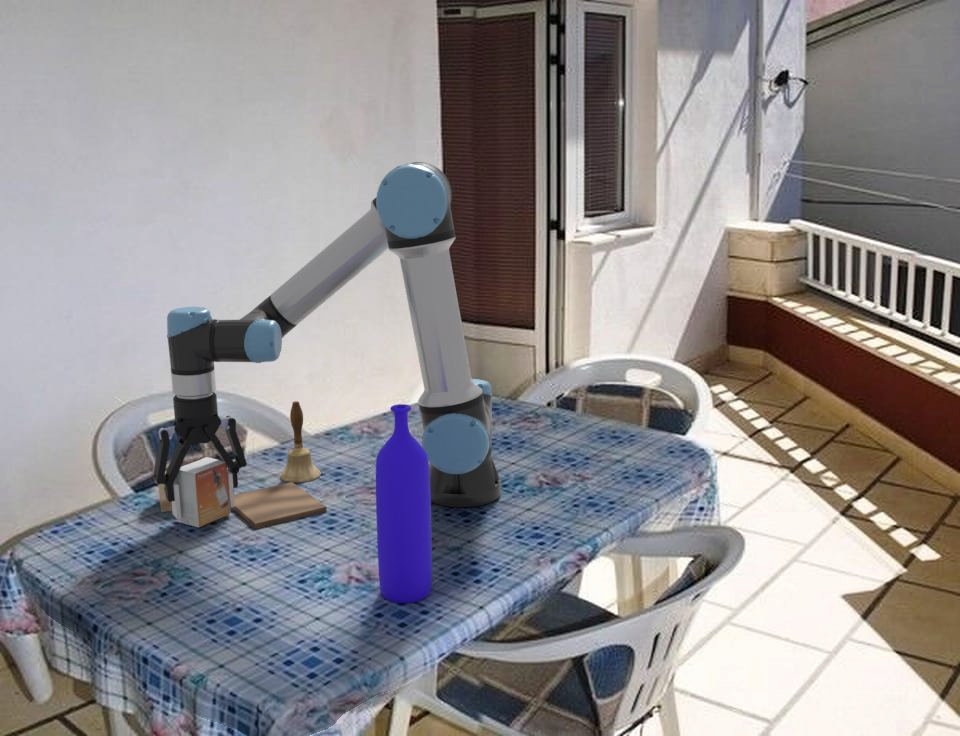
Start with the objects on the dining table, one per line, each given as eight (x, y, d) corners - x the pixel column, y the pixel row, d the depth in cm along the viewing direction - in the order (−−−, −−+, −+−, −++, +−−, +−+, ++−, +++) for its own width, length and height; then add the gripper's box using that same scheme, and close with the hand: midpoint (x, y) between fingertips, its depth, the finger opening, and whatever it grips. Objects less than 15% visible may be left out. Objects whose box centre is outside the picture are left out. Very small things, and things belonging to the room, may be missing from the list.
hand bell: (272, 480, 199) (267, 405, 195) (294, 467, 206) (290, 395, 203) (307, 485, 196) (303, 409, 192) (328, 472, 203) (324, 398, 200)
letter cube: (194, 509, 184) (191, 478, 183) (160, 512, 182) (158, 481, 181) (193, 497, 190) (190, 467, 188) (161, 501, 188) (158, 470, 187)
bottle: (425, 607, 145) (420, 415, 138) (372, 602, 147) (365, 412, 140) (438, 582, 153) (434, 400, 146) (388, 578, 155) (382, 397, 148)
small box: (198, 529, 175) (194, 474, 172) (177, 522, 177) (172, 468, 175) (231, 514, 181) (227, 461, 179) (210, 508, 184) (206, 455, 181)
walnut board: (326, 511, 182) (326, 506, 182) (255, 528, 174) (255, 523, 174) (292, 486, 195) (292, 482, 195) (224, 501, 187) (224, 496, 187)
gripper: (245, 380, 182) (253, 492, 188) (126, 398, 171) (137, 517, 176) (260, 388, 176) (268, 503, 182) (137, 408, 165) (149, 530, 170)
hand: (204, 510), depth 179 cm, fingers closed on small box, 9 cm apart
